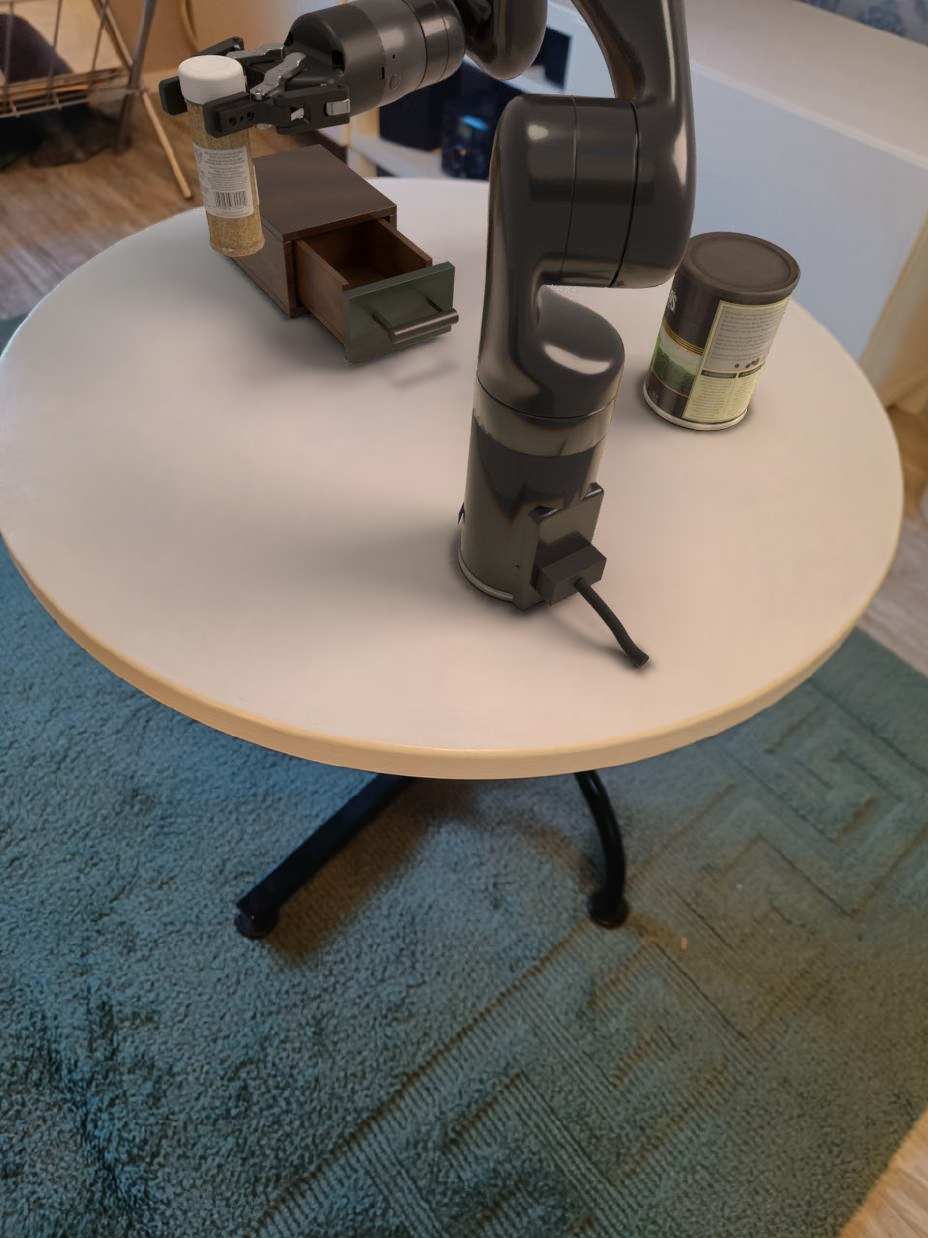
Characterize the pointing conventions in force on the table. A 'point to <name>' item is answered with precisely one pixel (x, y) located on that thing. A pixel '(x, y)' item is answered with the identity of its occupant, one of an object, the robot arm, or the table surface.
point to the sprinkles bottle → (222, 158)
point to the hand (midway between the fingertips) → (186, 110)
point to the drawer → (373, 288)
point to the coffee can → (718, 328)
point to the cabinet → (305, 213)
